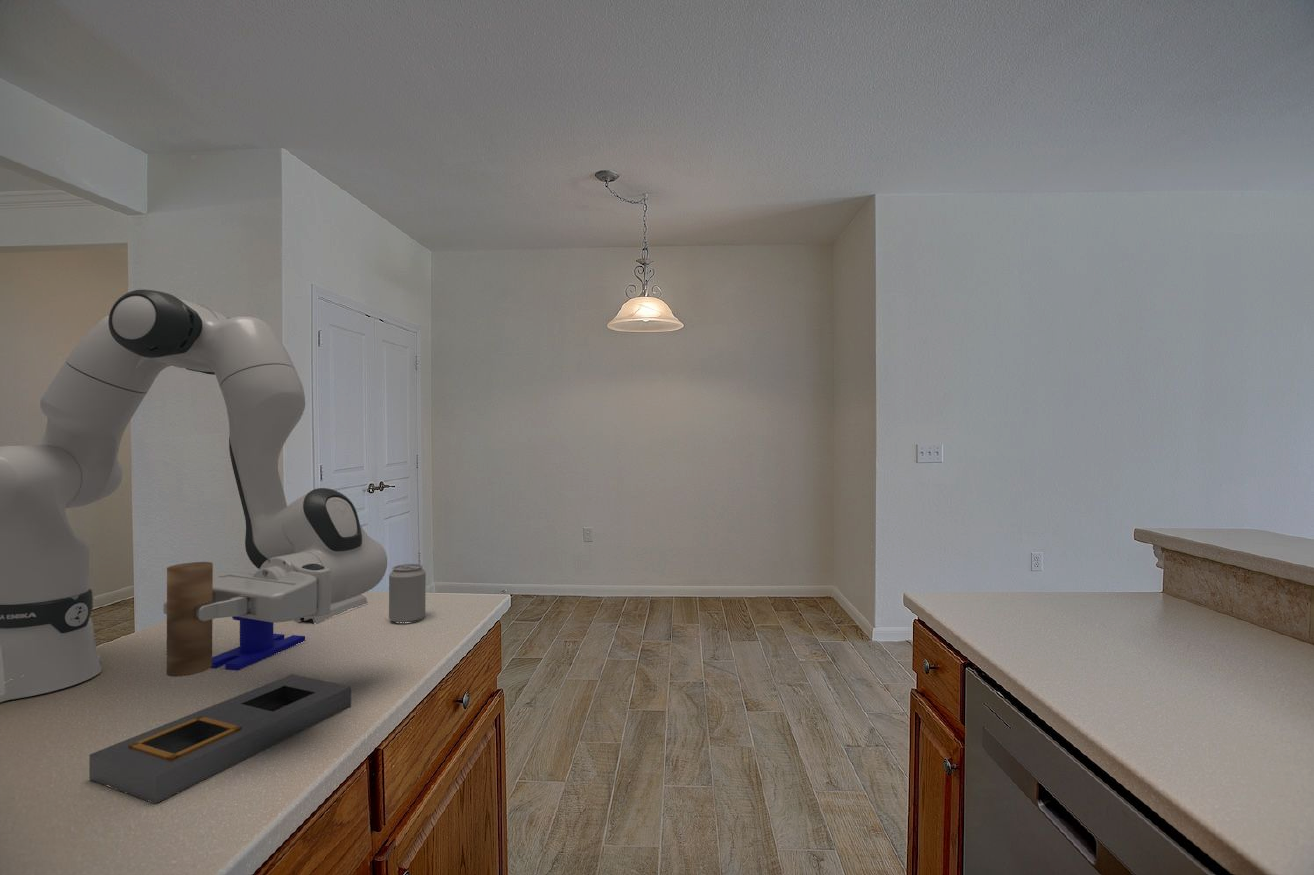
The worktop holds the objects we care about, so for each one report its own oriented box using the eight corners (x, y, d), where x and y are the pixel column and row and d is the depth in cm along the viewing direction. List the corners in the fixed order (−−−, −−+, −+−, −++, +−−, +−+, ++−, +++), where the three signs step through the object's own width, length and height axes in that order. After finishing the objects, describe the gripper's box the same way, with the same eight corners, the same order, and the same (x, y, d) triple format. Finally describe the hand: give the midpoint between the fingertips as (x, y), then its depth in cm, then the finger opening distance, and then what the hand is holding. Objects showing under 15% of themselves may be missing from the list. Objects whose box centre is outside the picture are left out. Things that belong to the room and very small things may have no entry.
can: (405, 626, 126) (406, 570, 126) (381, 622, 130) (381, 567, 130) (432, 617, 133) (433, 564, 133) (408, 613, 136) (409, 561, 136)
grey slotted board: (89, 779, 70) (89, 752, 70) (292, 693, 93) (292, 672, 93) (155, 803, 65) (155, 774, 65) (350, 706, 89) (351, 685, 89)
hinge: (314, 624, 128) (301, 580, 128) (297, 630, 129) (284, 586, 129) (369, 603, 144) (357, 564, 145) (353, 608, 145) (341, 569, 146)
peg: (156, 676, 72) (157, 569, 72) (186, 662, 76) (187, 561, 76) (193, 676, 72) (193, 569, 72) (221, 662, 76) (221, 561, 76)
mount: (272, 639, 119) (272, 596, 119) (305, 642, 117) (305, 598, 117) (202, 668, 104) (202, 618, 104) (238, 671, 103) (238, 621, 103)
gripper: (239, 558, 90) (130, 578, 77) (338, 569, 83) (237, 594, 70) (238, 599, 90) (130, 626, 77) (338, 615, 83) (237, 647, 70)
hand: (182, 611), depth 73 cm, fingers closed on peg, 4 cm apart
